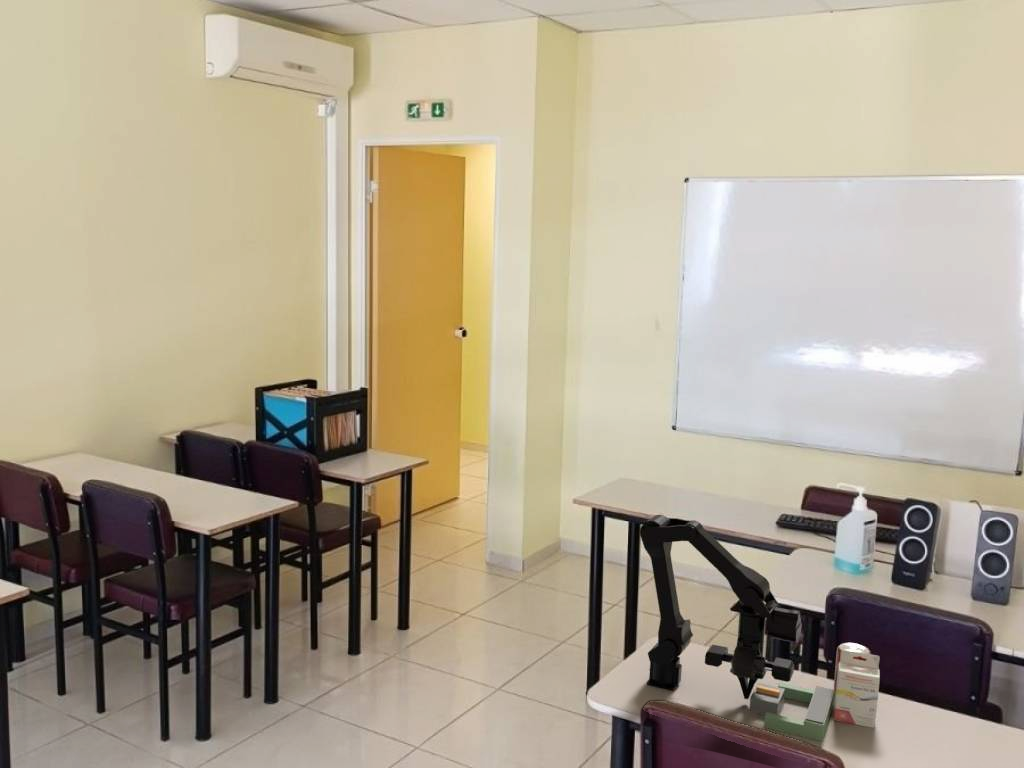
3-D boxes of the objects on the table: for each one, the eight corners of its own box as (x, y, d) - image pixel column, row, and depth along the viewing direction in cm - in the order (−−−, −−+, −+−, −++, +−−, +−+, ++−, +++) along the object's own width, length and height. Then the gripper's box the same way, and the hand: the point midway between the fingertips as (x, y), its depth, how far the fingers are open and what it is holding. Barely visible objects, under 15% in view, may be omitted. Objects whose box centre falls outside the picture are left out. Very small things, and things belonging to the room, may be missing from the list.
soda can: (868, 708, 216) (873, 657, 215) (835, 703, 218) (839, 653, 216) (863, 693, 223) (868, 644, 222) (831, 689, 225) (835, 640, 223)
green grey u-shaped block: (764, 727, 206) (765, 710, 206) (778, 692, 222) (780, 677, 222) (822, 741, 201) (823, 724, 201) (833, 704, 217) (834, 688, 217)
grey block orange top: (749, 711, 213) (750, 692, 213) (757, 696, 220) (758, 678, 220) (776, 718, 211) (778, 699, 210) (783, 703, 218) (785, 684, 217)
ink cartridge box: (833, 721, 210) (839, 657, 208) (833, 710, 215) (839, 648, 212) (875, 728, 207) (881, 664, 205) (874, 718, 212) (880, 654, 210)
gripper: (700, 637, 211) (696, 704, 213) (788, 654, 203) (783, 724, 205) (712, 619, 221) (708, 683, 223) (796, 635, 213) (791, 702, 215)
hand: (746, 698), depth 216 cm, fingers closed
